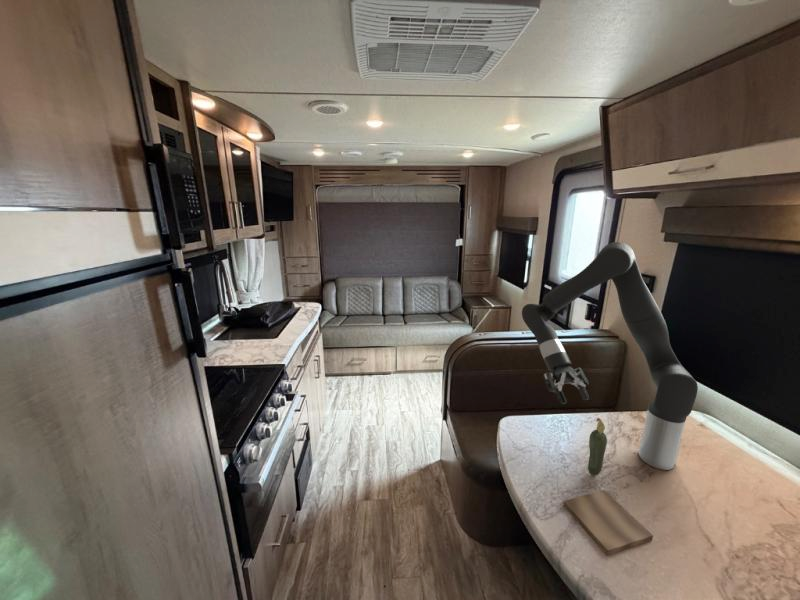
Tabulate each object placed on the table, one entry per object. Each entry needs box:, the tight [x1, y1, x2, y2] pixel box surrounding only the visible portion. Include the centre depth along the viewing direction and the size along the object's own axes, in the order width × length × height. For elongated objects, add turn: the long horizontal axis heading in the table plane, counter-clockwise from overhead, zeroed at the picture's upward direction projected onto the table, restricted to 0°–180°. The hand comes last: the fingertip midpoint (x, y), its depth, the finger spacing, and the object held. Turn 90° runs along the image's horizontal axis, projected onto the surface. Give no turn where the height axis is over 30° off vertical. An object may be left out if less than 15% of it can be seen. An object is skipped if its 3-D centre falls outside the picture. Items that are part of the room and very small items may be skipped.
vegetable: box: [587, 417, 608, 477], centre depth 94 cm, size 4×4×20 cm
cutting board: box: [562, 489, 654, 556], centre depth 82 cm, size 14×14×2 cm
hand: (575, 401), depth 101 cm, fingers open, 8 cm apart
